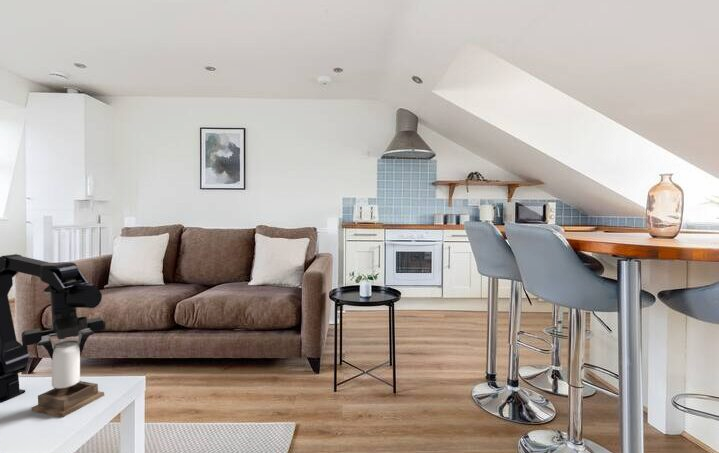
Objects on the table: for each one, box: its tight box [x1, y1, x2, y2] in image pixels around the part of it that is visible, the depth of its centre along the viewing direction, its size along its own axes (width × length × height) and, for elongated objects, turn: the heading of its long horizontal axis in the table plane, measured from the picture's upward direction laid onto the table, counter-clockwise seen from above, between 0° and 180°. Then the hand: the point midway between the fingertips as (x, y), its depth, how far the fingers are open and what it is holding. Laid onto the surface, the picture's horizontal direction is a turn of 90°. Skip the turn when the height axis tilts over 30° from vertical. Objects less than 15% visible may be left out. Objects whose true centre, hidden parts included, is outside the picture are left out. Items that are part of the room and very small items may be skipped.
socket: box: [31, 380, 105, 418], centre depth 109 cm, size 12×12×4 cm
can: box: [51, 340, 81, 389], centre depth 108 cm, size 6×6×12 cm
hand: (67, 359), depth 108 cm, fingers closed on can, 5 cm apart
